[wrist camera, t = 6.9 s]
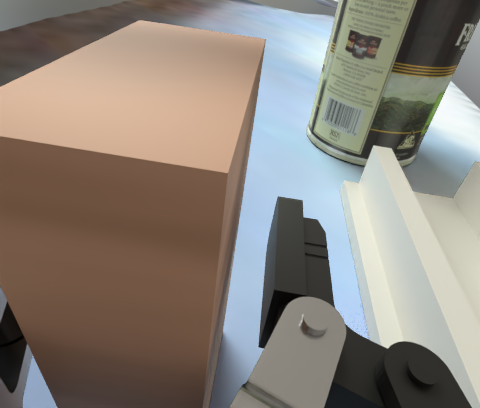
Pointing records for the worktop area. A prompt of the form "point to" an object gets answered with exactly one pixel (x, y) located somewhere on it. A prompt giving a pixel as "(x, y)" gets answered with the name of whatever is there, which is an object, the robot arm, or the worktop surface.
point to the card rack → (418, 264)
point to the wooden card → (127, 211)
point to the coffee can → (387, 74)
